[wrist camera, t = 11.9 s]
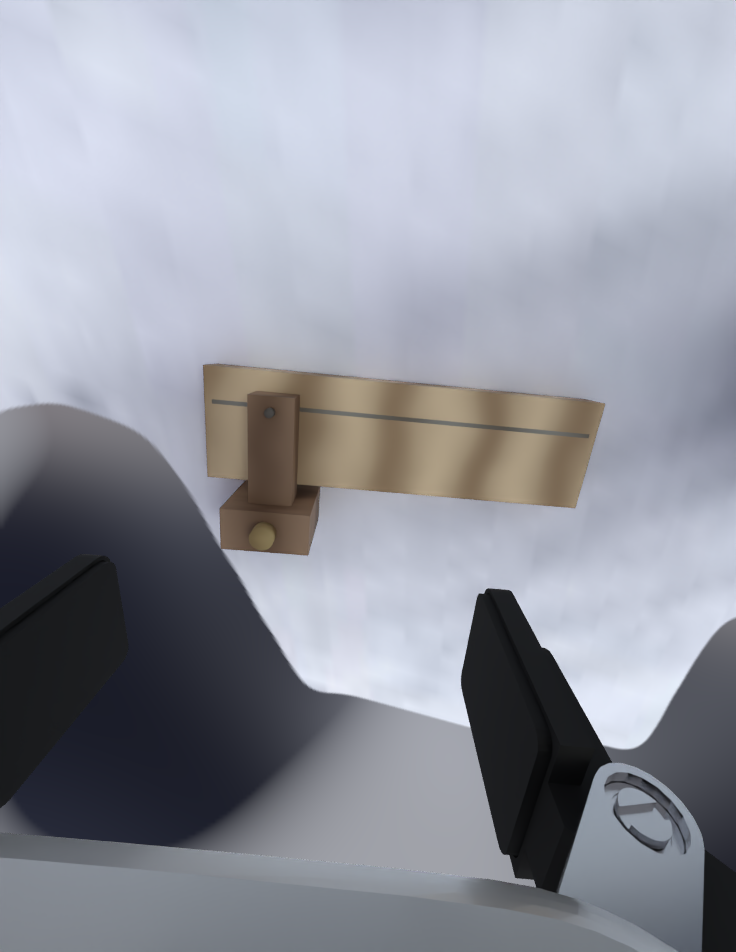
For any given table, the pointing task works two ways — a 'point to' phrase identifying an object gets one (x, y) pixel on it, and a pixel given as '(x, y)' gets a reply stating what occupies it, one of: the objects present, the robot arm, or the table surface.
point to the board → (411, 436)
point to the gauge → (271, 484)
